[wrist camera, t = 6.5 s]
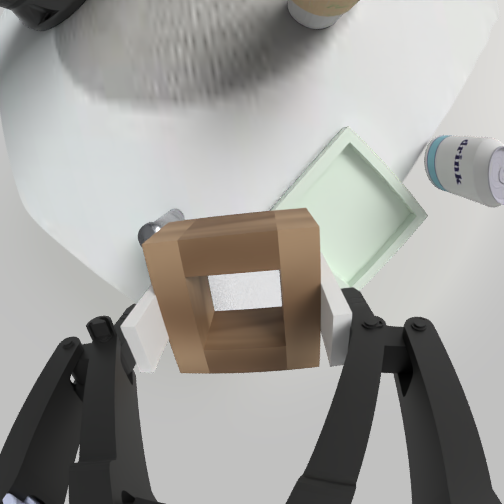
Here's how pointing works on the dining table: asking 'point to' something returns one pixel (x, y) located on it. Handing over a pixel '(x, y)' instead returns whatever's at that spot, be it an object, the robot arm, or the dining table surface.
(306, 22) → the coffee cup
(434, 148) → the beverage can
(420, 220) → the tray
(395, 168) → the dining table surface
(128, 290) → the dining table surface
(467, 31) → the dining table surface
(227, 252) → the brown rectangular frame
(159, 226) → the grey round-topped rod
